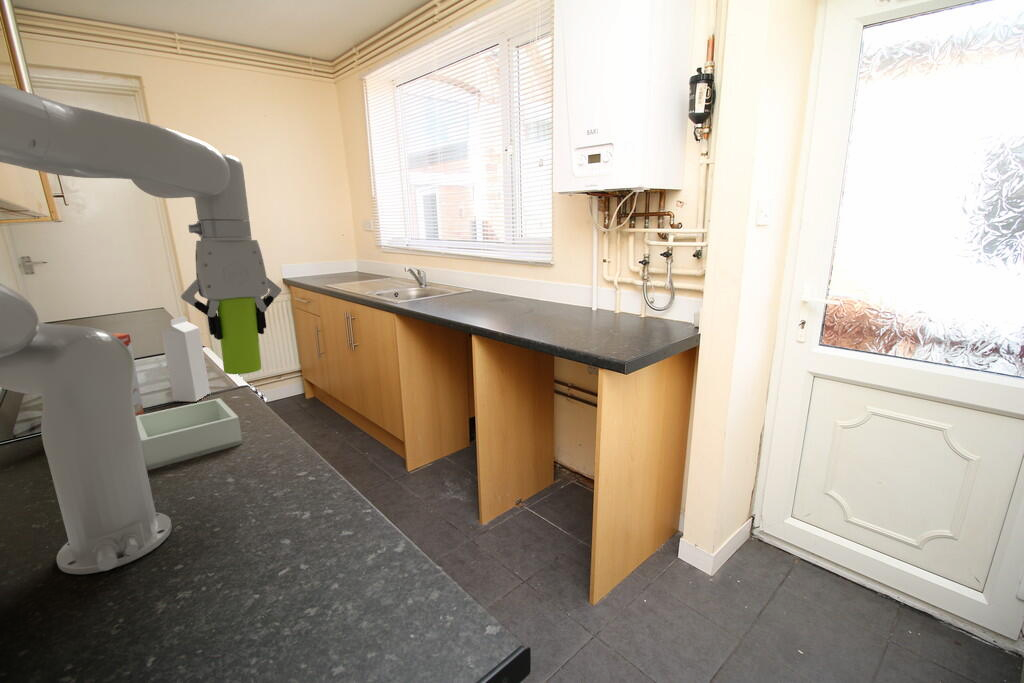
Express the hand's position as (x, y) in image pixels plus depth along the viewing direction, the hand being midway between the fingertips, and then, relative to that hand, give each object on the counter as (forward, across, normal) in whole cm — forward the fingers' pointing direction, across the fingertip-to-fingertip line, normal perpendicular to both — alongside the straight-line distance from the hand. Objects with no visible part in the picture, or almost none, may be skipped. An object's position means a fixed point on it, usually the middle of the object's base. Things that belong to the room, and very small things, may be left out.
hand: (239, 334), depth 85 cm
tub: (+25, -7, +20) cm, 33 cm away
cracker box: (+26, -19, +43) cm, 54 cm away
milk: (+25, -1, +52) cm, 58 cm away
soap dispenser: (+7, 0, 0) cm, 7 cm away
